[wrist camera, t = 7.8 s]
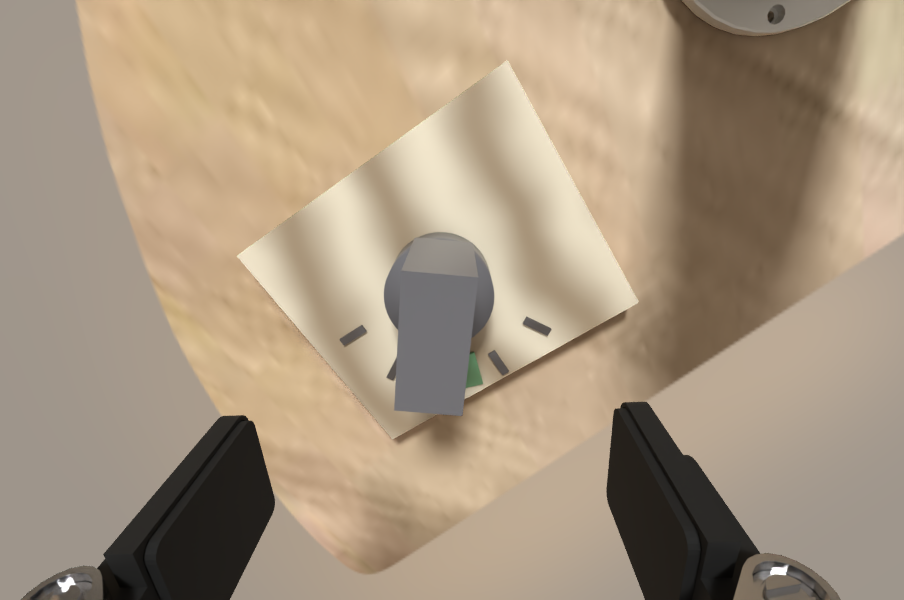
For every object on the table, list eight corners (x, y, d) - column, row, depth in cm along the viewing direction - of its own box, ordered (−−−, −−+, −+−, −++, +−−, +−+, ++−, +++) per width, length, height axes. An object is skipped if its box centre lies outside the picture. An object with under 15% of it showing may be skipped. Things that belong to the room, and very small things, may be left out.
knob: (393, 224, 25) (362, 267, 17) (496, 233, 25) (516, 280, 17) (386, 390, 29) (358, 493, 21) (475, 397, 29) (483, 503, 21)
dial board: (503, 66, 24) (507, 59, 22) (627, 291, 29) (640, 303, 27) (251, 248, 28) (234, 256, 26) (396, 422, 33) (392, 441, 31)
